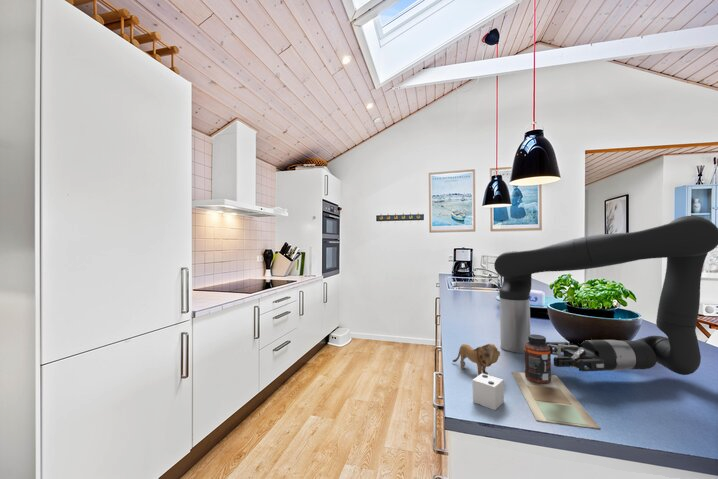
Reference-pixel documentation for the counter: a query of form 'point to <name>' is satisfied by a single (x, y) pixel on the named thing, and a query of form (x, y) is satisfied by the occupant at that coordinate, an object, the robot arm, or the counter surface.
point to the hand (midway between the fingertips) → (544, 355)
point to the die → (488, 391)
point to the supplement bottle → (537, 359)
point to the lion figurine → (479, 356)
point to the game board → (553, 402)
